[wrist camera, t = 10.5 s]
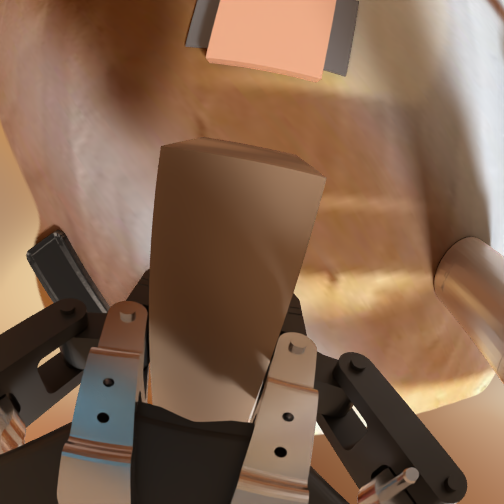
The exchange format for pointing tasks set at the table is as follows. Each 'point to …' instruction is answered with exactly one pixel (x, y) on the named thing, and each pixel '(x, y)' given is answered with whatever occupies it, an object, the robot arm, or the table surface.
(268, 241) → the bar
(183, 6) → the table surface
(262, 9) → the tile
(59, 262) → the phone
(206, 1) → the mat
